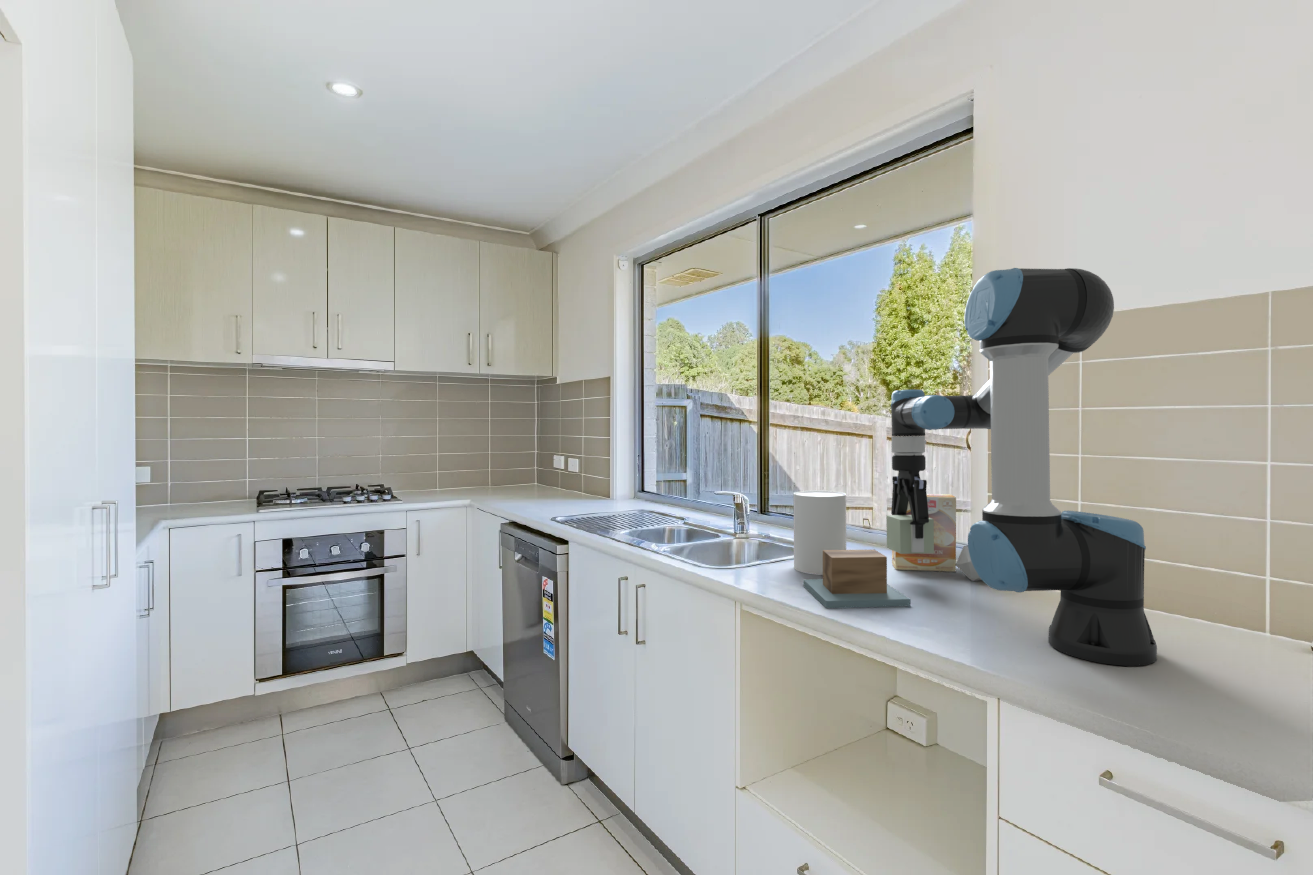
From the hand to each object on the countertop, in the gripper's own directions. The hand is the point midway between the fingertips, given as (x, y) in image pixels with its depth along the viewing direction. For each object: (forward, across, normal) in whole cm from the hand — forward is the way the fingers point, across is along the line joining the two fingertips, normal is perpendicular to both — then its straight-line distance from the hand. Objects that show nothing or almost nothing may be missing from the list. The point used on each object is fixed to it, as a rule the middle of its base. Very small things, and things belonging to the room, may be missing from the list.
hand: (909, 548), depth 153 cm
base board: (+9, -9, +17) cm, 21 cm away
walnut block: (+7, -9, +17) cm, 21 cm away
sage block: (0, 0, 0) cm, 0 cm away
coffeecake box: (+8, +15, -10) cm, 20 cm away
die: (+9, +3, -18) cm, 20 cm away
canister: (+8, +17, +17) cm, 25 cm away
